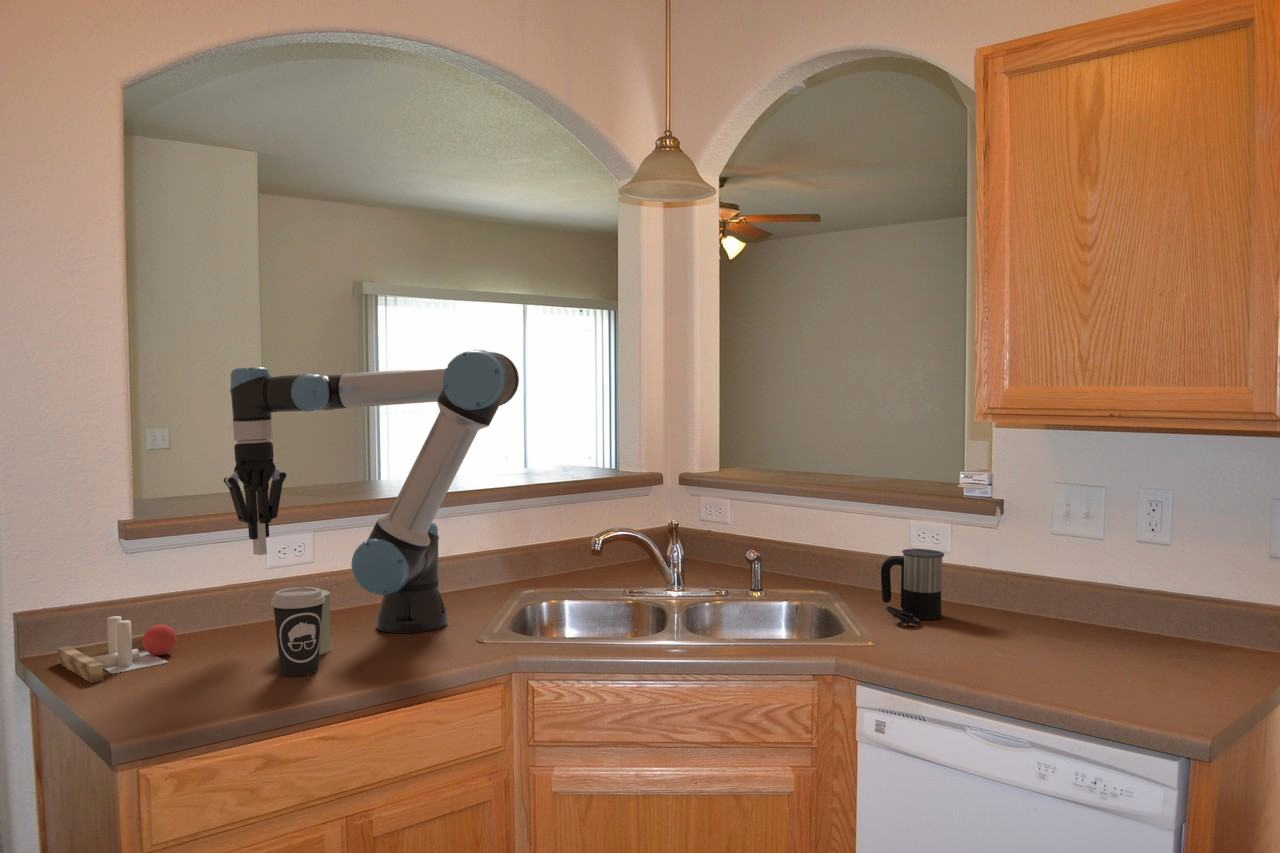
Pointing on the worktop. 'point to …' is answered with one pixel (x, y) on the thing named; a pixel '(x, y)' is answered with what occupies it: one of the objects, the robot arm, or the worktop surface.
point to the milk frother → (915, 584)
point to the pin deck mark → (138, 663)
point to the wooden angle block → (86, 666)
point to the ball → (159, 639)
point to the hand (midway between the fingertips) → (260, 553)
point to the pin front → (114, 658)
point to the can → (325, 625)
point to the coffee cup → (298, 629)
